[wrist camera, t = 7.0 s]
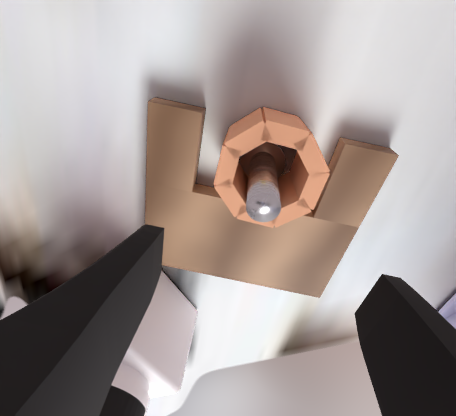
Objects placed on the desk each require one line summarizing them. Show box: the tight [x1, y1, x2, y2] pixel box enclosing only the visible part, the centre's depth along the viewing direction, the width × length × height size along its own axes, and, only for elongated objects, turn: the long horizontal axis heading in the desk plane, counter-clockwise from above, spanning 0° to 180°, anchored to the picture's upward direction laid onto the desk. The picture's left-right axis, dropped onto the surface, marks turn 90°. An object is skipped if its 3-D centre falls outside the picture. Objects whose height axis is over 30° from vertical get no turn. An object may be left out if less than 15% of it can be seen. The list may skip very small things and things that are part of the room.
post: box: [240, 142, 285, 222], centre depth 15 cm, size 3×3×6 cm
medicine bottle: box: [99, 270, 198, 416], centre depth 20 cm, size 7×7×12 cm
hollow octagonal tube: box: [214, 107, 330, 228], centre depth 15 cm, size 5×5×4 cm
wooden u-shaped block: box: [145, 97, 399, 298], centre depth 19 cm, size 14×12×1 cm
